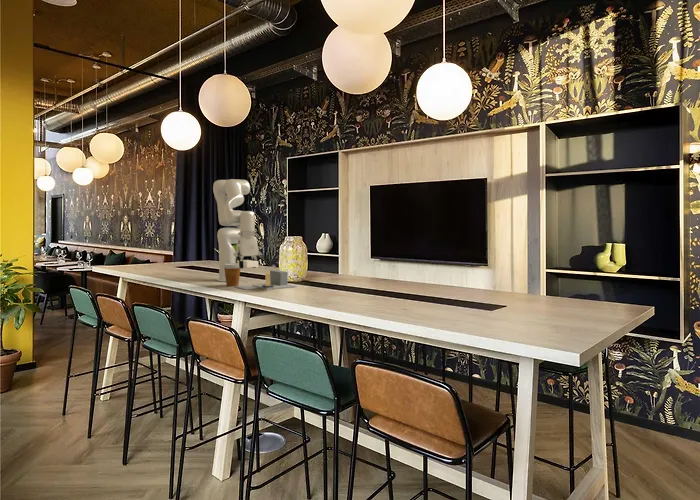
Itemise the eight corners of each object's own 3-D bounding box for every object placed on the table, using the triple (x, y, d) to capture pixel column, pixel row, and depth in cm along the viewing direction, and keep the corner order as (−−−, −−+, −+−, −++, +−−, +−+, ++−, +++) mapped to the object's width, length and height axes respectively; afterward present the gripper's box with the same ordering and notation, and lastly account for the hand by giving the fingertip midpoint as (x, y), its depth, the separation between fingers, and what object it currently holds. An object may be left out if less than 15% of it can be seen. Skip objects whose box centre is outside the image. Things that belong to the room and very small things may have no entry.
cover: (237, 266, 249) (237, 260, 249) (248, 265, 253) (248, 259, 253) (247, 267, 240) (247, 261, 240) (258, 266, 244) (258, 261, 244)
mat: (235, 287, 250) (235, 286, 250) (249, 285, 255) (249, 285, 255) (245, 290, 240) (245, 289, 240) (260, 288, 245) (260, 288, 245)
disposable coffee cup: (243, 284, 260) (243, 263, 259) (238, 287, 250) (237, 265, 250) (227, 284, 261) (227, 263, 260) (220, 286, 251) (220, 264, 251)
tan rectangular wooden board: (265, 287, 235) (265, 273, 235) (265, 283, 249) (265, 271, 248) (270, 287, 236) (270, 273, 235) (270, 283, 249) (270, 271, 249)
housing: (251, 286, 255) (251, 271, 255) (280, 283, 266) (280, 269, 266) (266, 289, 241) (266, 274, 241) (296, 287, 252) (296, 272, 252)
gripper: (235, 234, 238) (235, 269, 239) (265, 234, 248) (265, 267, 249) (229, 234, 244) (229, 268, 244) (259, 234, 254) (259, 266, 255)
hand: (247, 267), depth 247 cm, fingers closed on cover, 6 cm apart
